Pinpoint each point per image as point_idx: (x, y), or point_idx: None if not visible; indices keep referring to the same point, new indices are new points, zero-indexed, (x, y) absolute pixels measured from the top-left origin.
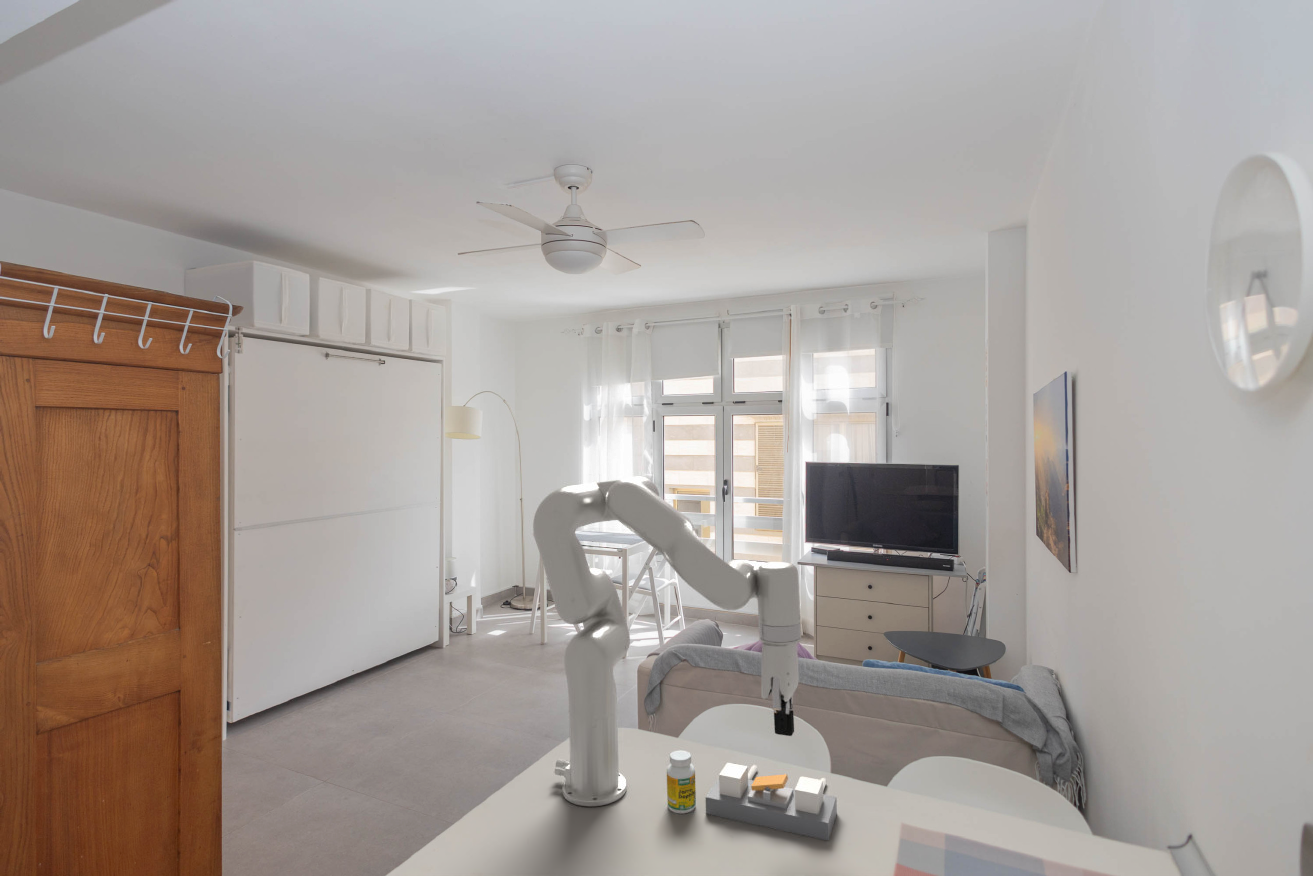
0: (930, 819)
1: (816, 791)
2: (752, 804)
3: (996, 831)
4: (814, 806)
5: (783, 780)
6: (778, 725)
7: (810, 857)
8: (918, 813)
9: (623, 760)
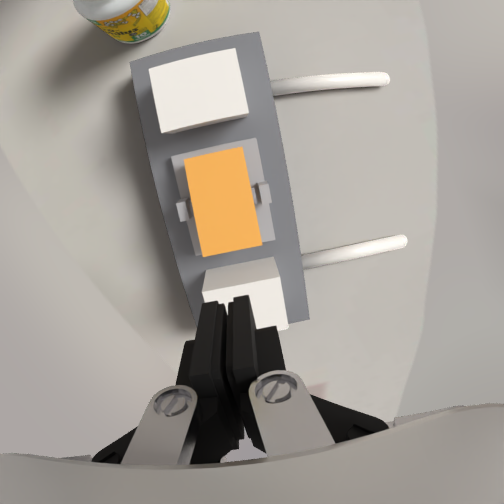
0: (351, 402)
1: None
2: (163, 175)
3: None
4: None
5: (222, 252)
6: (183, 357)
7: (141, 311)
8: (361, 388)
9: None
